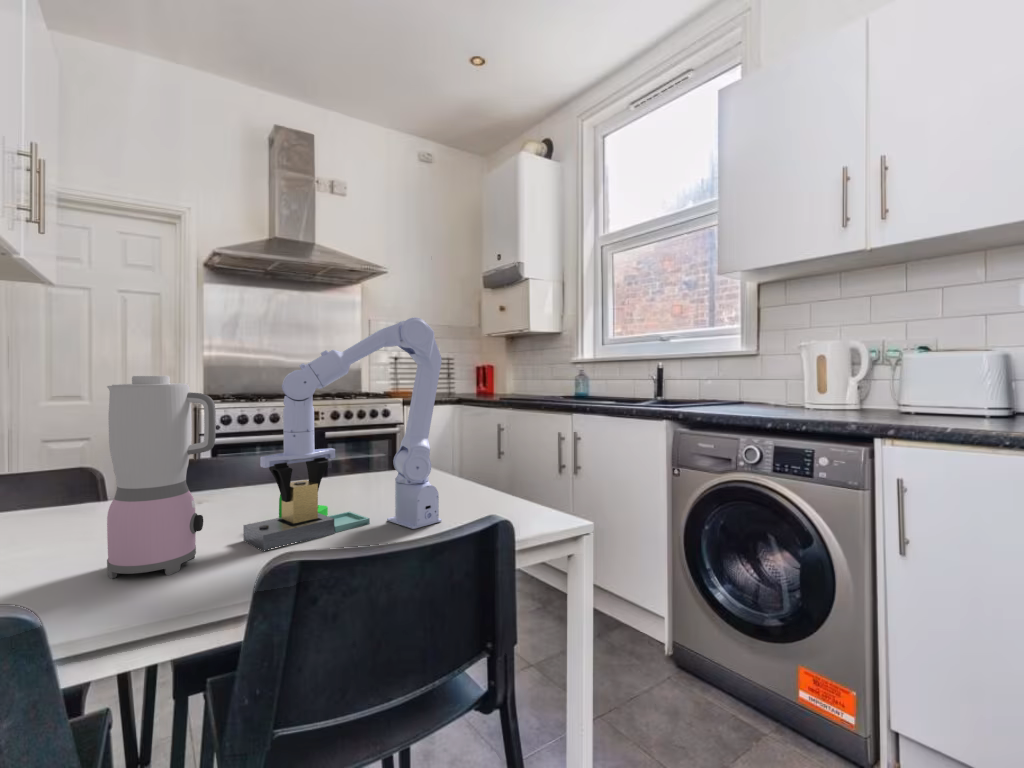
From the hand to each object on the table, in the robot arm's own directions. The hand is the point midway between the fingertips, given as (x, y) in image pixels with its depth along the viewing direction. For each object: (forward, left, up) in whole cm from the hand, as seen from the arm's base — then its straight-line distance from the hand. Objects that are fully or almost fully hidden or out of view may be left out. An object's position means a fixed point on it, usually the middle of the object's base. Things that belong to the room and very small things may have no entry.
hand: (299, 498), depth 103 cm
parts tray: (0, -9, -7) cm, 12 cm away
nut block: (0, 0, -4) cm, 4 cm away
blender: (+1, +23, -8) cm, 24 cm away
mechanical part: (+9, -6, -8) cm, 13 cm away
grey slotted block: (0, +2, -7) cm, 8 cm away
